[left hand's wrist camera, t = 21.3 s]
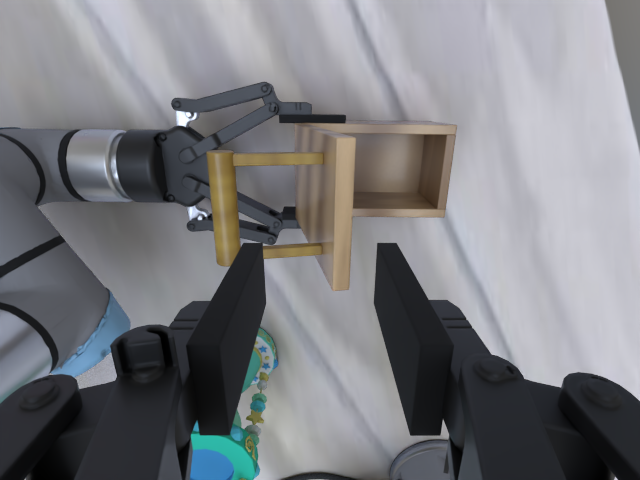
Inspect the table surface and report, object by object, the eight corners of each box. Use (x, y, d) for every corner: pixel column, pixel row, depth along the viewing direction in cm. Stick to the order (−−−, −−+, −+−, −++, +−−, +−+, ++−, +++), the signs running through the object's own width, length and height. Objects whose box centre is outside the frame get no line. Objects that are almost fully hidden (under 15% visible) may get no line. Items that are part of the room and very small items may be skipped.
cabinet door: (356, 137, 19) (198, 138, 18) (349, 290, 23) (215, 302, 21) (305, 123, 34) (216, 123, 32) (306, 217, 37) (225, 221, 36)
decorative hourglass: (200, 370, 55) (77, 643, 27) (215, 311, 52) (90, 557, 24) (269, 387, 56) (219, 666, 28) (288, 331, 53) (252, 587, 25)
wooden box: (431, 121, 43) (457, 125, 35) (422, 197, 46) (444, 217, 38) (304, 119, 43) (300, 123, 35) (304, 196, 46) (301, 215, 38)
